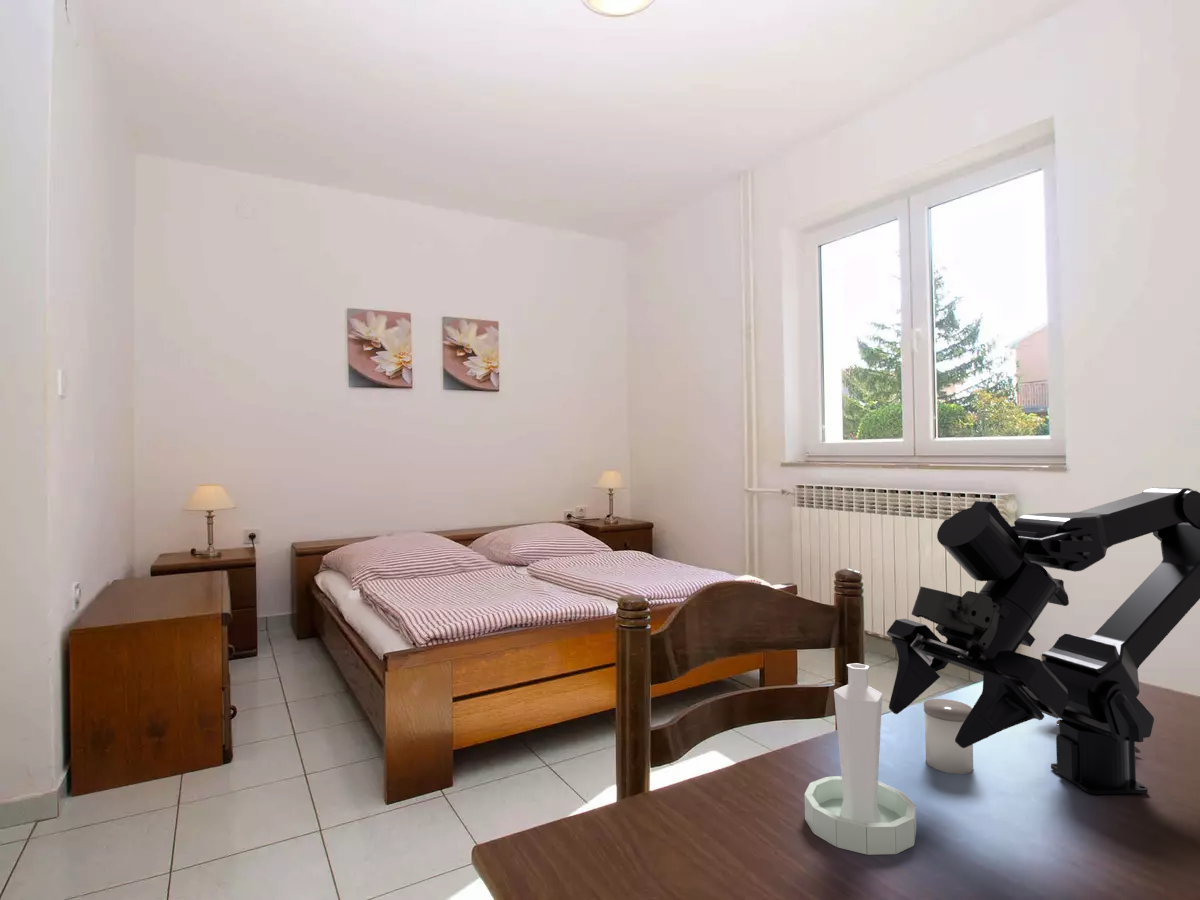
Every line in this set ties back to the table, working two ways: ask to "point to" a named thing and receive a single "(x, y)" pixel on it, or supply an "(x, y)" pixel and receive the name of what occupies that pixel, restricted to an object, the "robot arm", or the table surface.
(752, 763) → the table surface
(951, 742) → the cream jar
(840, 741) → the white faceted vase
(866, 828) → the ring dish
